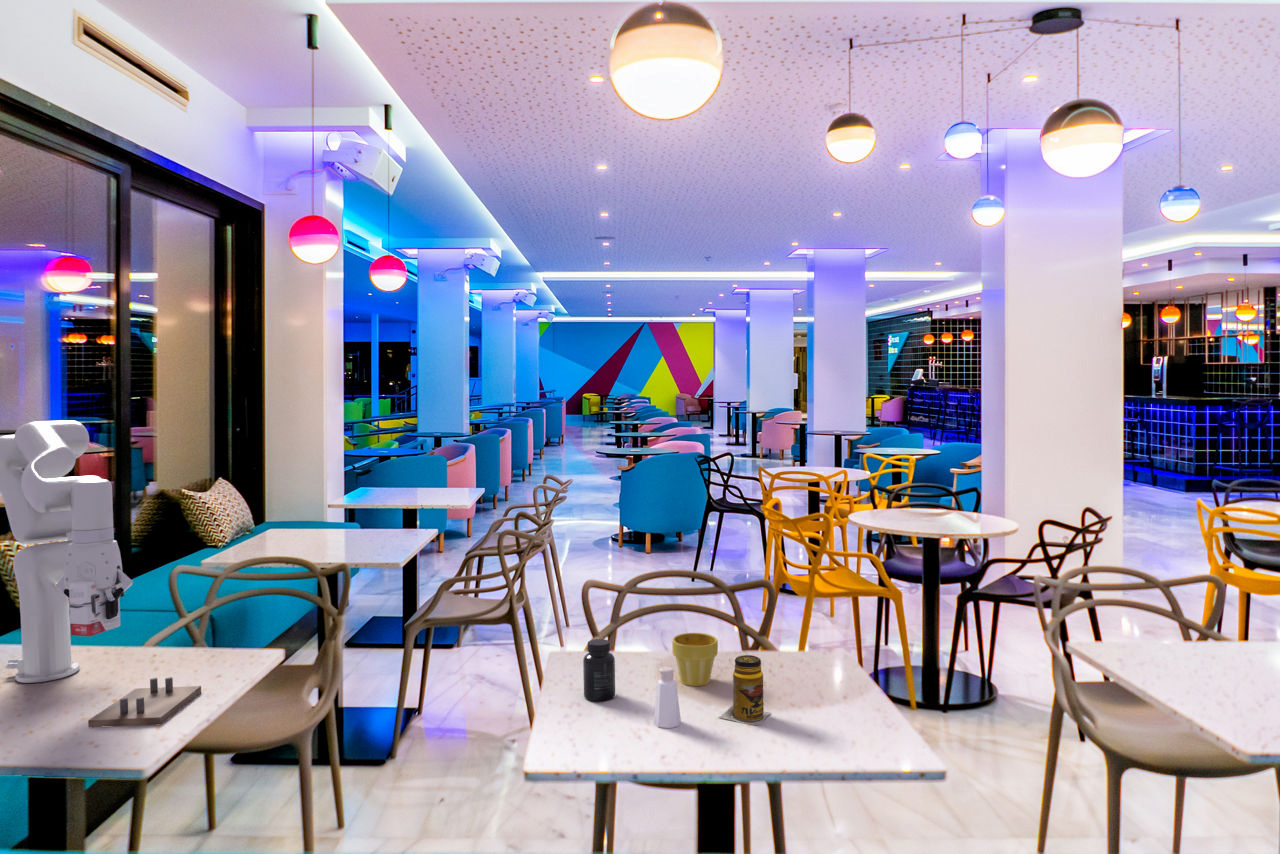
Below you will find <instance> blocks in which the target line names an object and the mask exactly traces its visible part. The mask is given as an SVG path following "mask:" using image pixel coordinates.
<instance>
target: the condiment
mask: <svg viewBox="0 0 1280 854" xmlns="http://www.w3.org/2000/svg"><path fill="white" fill-rule="evenodd" d="M732 673H733V674H732V683H733V684H732V686H733V689H732V690H733V691H732V694H733V697H732V700H733V701H732V702H733V704H732V705H731V706H730V707H728V709H726V710H725V711H724V712H723V713H722V714H721V715H720V716H718V718H719V719H724V720H729V721H733V722H738V723H741V724H747V725H751V726H759V725H760V724H761V723H762V722H763V721H765V719H766V718H767V717H768V716H769V715H770V714H771V713H772V712H770V711H765V710H764V673H763V671H762V659H761V658H760V657H758V656H755V655H750V654H744V655H739V656H737V657H736V658H735V659H734V670H733V672H732Z"/></svg>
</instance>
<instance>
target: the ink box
mask: <svg viewBox="0 0 1280 854" xmlns="http://www.w3.org/2000/svg"><path fill="white" fill-rule="evenodd" d="M119 587H120V584H118V585H117V588H119ZM69 596H70V599H69V616H70V637H71V636H75V637H89V638H90V637H92V636H95V635H99V634H101V633H105V632H107V631H109V630H113V629H116V628H119V627H120V626H121V605H120V603H121V602H120V598H118V613H117V616H116V617H114V618H112V619H106V601H108V598H107V596H106V593H105V591H104V590H97V589H95V582H94V581H71V582H70V583H69Z"/></svg>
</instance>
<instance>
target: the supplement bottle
mask: <svg viewBox="0 0 1280 854" xmlns="http://www.w3.org/2000/svg"><path fill="white" fill-rule="evenodd" d="M586 649H587V653H586V654H585V655H584V657H583V660H582V661H583V662H582V667H583V697H584V698H585V699H586V700H587V701H589V702H593V703H603V702H608V701H610V700H613V699H614V698H615V696H616V664H615V663H616V659H615V656H614V655H613V654H612V652H610V651H611V642H610V640H608V639H604V638H595V639H590V640H589V641H587V648H586Z"/></svg>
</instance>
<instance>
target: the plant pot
mask: <svg viewBox="0 0 1280 854" xmlns="http://www.w3.org/2000/svg"><path fill="white" fill-rule="evenodd" d="M671 641H672V644H671V647H672V655H674V657H675V661H676V666H677V671H678V675H679V680H680V682H681V684H683V685H686V686H689V687H690V686H691V687H701V686H706V685H707V684H709V682H710V680H711V677H712V676H711V675H712V671H713V666H714V662H715V657H717V656H718V652H719V651H718V650H719V642H718V641H719V640H718V638H717V637H716V636H715V635H712V634H710V633H709V634H708V633H702V632H685V633H679V634H677V635H675V636H674V637H673V638H672V640H671Z"/></svg>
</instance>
